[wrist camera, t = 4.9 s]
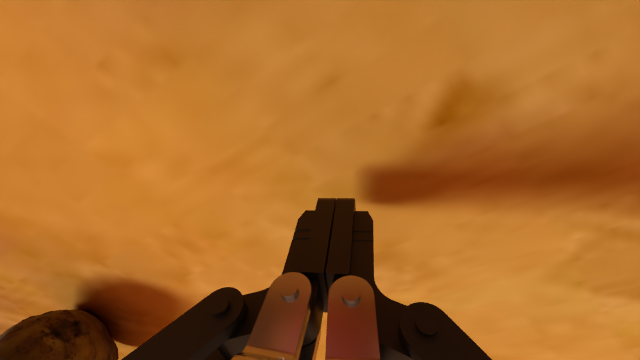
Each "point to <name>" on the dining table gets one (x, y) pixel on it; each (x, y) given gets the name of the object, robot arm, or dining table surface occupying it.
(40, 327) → the potato
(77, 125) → the dining table surface
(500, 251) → the dining table surface
